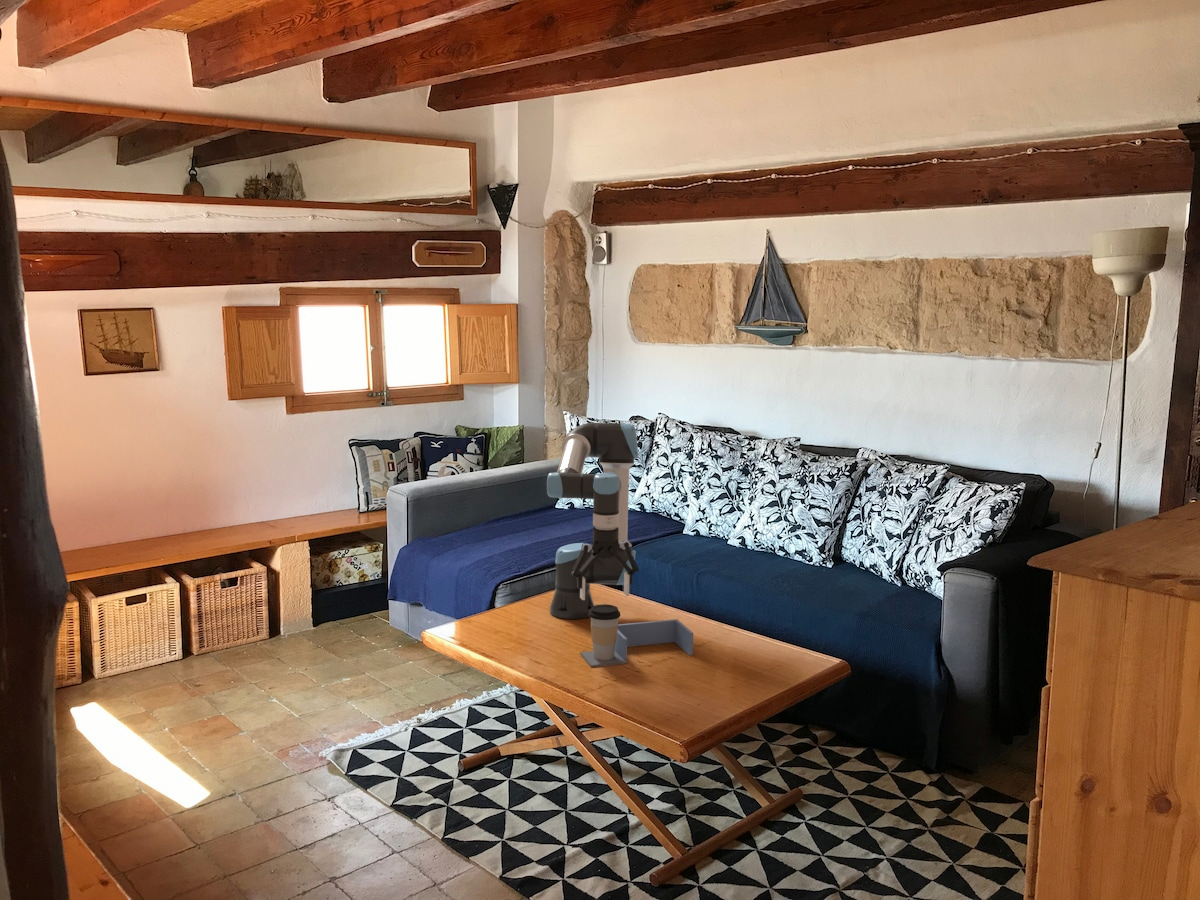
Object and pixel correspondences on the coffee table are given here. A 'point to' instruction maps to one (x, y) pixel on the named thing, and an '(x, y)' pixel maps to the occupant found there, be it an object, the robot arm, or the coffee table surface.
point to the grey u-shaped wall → (653, 635)
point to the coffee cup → (604, 630)
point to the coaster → (596, 663)
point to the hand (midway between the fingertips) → (604, 596)
